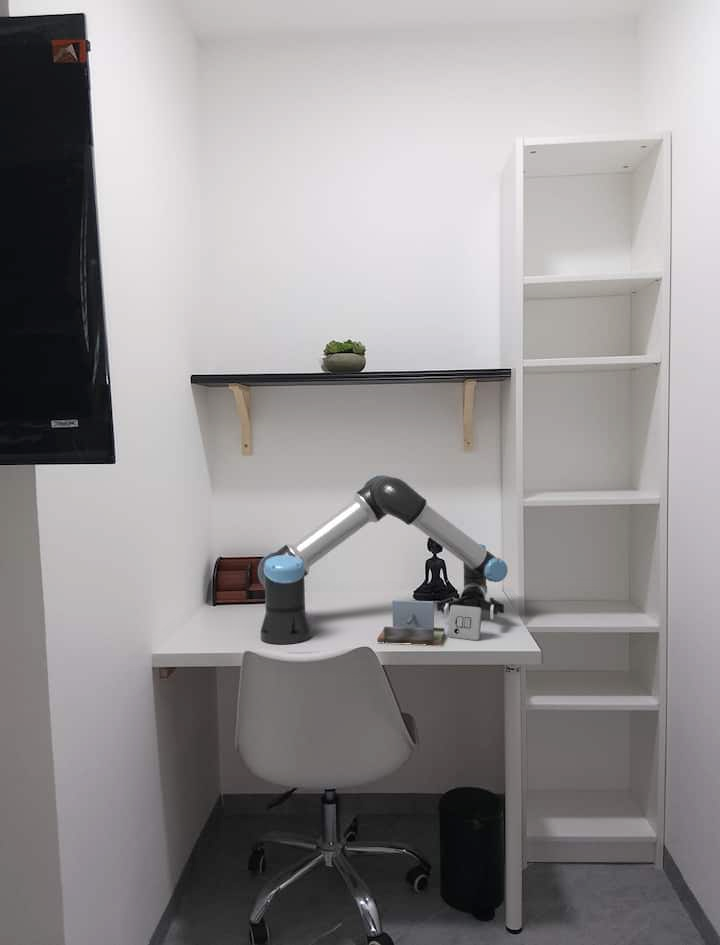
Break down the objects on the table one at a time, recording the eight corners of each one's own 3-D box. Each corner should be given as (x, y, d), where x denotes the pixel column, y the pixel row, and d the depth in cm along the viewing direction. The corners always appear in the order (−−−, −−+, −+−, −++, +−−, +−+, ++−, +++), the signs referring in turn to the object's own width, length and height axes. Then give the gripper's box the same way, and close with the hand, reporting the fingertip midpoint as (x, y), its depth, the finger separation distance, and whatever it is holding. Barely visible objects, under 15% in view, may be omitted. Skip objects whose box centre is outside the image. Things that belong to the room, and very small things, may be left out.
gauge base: (377, 643, 204) (377, 627, 204) (384, 633, 214) (383, 618, 214) (440, 646, 200) (440, 630, 200) (444, 635, 210) (444, 620, 210)
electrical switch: (447, 637, 208) (448, 605, 209) (453, 634, 213) (454, 603, 213) (478, 641, 204) (479, 608, 204) (484, 638, 209) (484, 606, 209)
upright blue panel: (388, 636, 205) (387, 607, 204) (393, 628, 213) (393, 600, 213) (440, 638, 201) (440, 608, 201) (444, 630, 210) (443, 601, 209)
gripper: (512, 610, 230) (511, 628, 209) (434, 607, 236) (426, 624, 215) (512, 586, 230) (511, 602, 209) (434, 584, 235) (425, 600, 215)
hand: (468, 614), depth 212 cm, fingers open, 13 cm apart
